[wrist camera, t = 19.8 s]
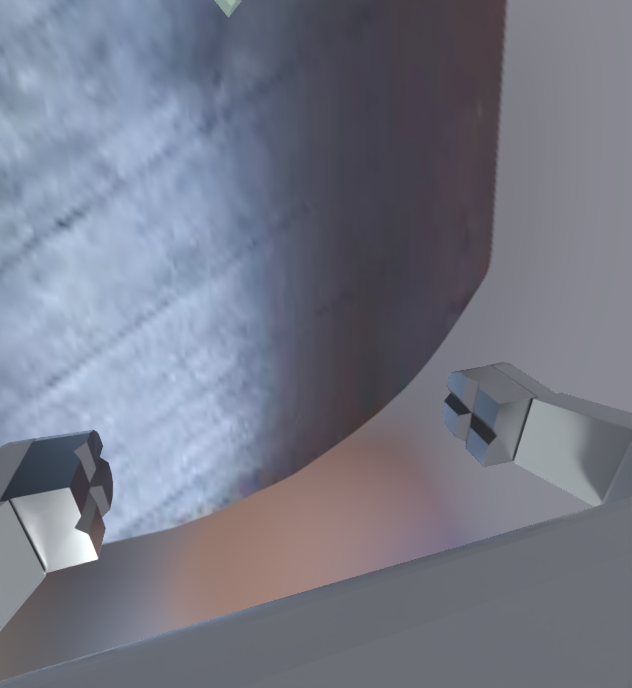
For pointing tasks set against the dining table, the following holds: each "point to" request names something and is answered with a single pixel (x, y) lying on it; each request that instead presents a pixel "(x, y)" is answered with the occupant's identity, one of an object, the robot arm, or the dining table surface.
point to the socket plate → (228, 5)
